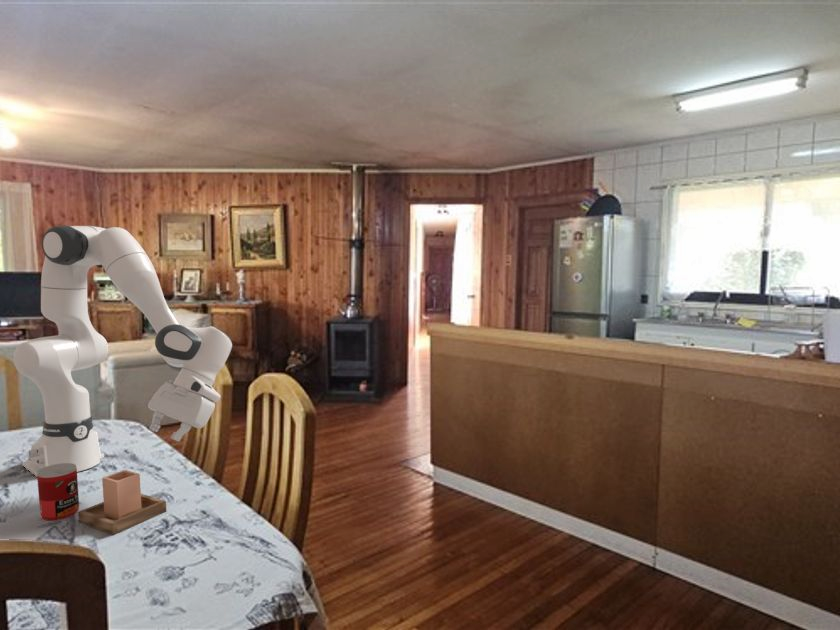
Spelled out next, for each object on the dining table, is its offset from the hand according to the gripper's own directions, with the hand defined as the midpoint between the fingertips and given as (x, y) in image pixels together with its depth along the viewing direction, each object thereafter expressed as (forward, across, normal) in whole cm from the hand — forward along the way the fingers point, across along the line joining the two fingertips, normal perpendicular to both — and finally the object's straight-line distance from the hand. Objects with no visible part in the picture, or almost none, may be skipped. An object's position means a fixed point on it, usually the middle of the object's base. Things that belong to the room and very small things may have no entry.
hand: (163, 435), depth 135 cm
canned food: (+25, -11, -6) cm, 28 cm away
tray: (+20, +4, -1) cm, 20 cm away
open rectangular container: (+19, +3, -1) cm, 19 cm away
